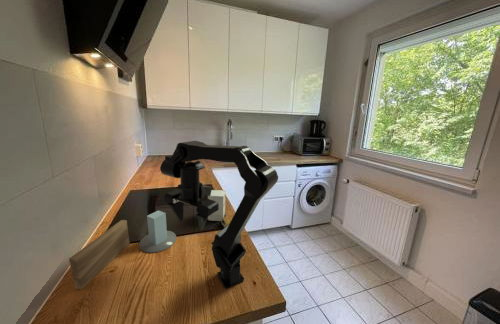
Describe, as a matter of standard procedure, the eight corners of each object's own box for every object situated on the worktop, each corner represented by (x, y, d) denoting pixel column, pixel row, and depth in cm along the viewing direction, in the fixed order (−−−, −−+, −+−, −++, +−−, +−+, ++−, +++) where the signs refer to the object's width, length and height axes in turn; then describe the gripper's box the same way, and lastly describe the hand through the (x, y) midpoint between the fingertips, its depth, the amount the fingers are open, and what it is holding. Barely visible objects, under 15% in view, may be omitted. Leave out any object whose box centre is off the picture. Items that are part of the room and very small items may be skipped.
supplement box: (223, 221, 94) (223, 196, 91) (207, 220, 94) (207, 195, 91) (225, 213, 101) (225, 190, 98) (210, 212, 101) (210, 189, 98)
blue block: (167, 238, 79) (165, 213, 77) (156, 245, 75) (153, 219, 72) (160, 235, 81) (158, 210, 78) (149, 241, 77) (146, 215, 74)
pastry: (238, 218, 98) (238, 211, 97) (244, 225, 92) (244, 218, 91) (219, 222, 93) (220, 215, 92) (225, 230, 88) (225, 222, 87)
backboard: (129, 243, 76) (126, 220, 73) (81, 289, 57) (75, 259, 54) (124, 243, 76) (121, 219, 74) (75, 288, 57) (69, 258, 54)
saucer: (179, 245, 76) (179, 244, 76) (140, 257, 70) (140, 255, 69) (172, 228, 87) (172, 227, 87) (138, 236, 80) (138, 235, 80)
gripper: (229, 180, 66) (228, 222, 70) (187, 169, 74) (188, 208, 78) (206, 190, 56) (206, 239, 60) (161, 177, 65) (164, 220, 69)
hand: (191, 225), depth 67 cm, fingers open, 9 cm apart
